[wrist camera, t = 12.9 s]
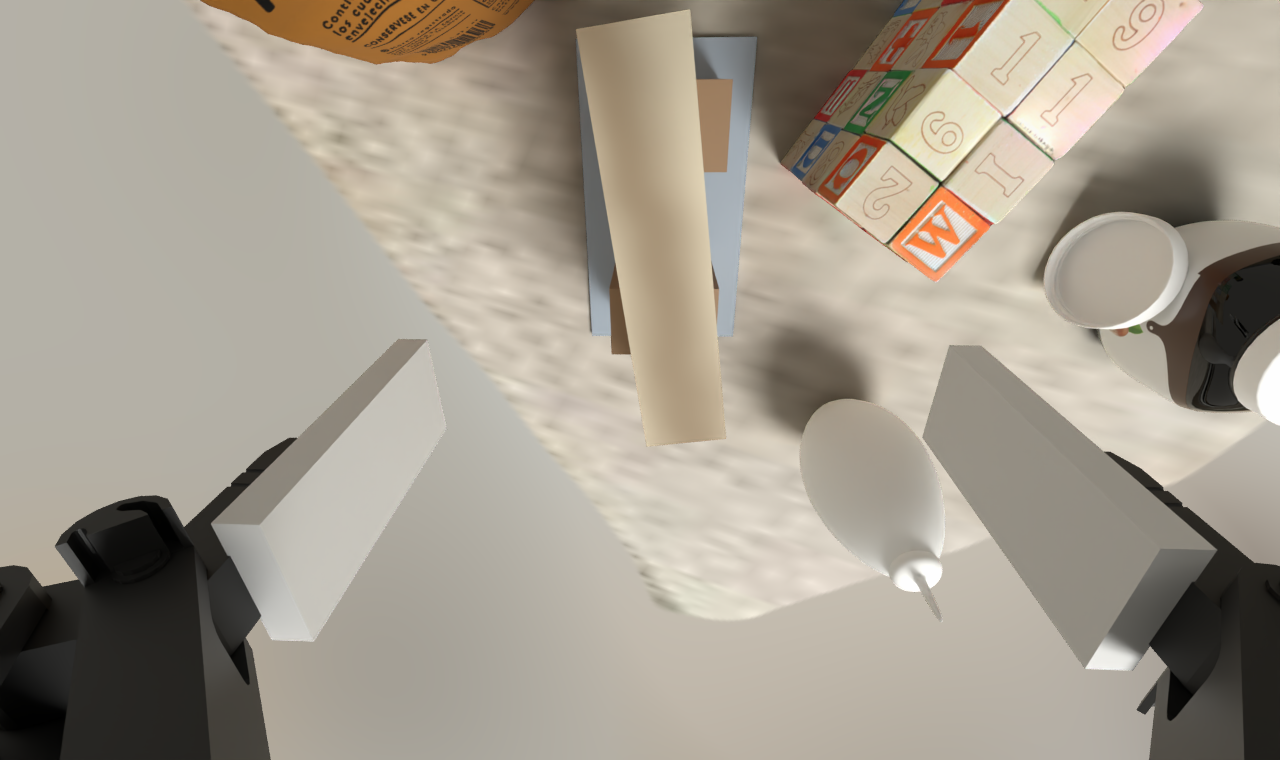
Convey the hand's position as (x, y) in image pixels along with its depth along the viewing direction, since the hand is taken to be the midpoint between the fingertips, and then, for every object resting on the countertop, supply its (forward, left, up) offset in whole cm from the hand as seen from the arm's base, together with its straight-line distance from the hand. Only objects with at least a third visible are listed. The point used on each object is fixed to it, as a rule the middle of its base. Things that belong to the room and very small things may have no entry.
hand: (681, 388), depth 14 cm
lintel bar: (0, 0, -16) cm, 16 cm away
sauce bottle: (-13, +16, -24) cm, 31 cm away
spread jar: (-30, +5, -24) cm, 39 cm away
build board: (0, 0, -24) cm, 24 cm away
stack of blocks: (-15, -9, -24) cm, 30 cm away
